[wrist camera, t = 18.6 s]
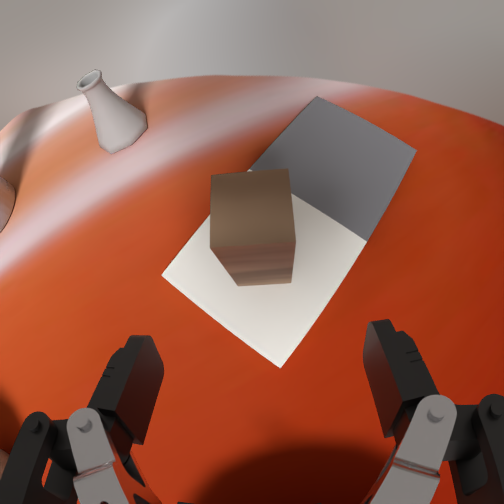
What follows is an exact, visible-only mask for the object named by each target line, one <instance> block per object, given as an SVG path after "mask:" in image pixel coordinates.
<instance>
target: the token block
mask: <svg viewBox="0 0 504 504" xmlns="http://www.w3.org/2000/svg"><path fill="white" fill-rule="evenodd" d="M295 247H296V235H295V225H294V215H293V205H292V196H291V187H290V178H289V170H288V168H287V169H272V170H259V171H248V172H237V173H227V174H217V175H211V199H210V249H211V250H212V252H213V253H214V254H215V256H216V257H217V259H218V260H219V261H220V263H221V264H222V265H223V267H224V268H225V269H226V271H227V272H228V274H229V275H230V276H231V278H232V279H233V280H234V282H235V283H236V284H237V286H254V285H271V284H286V283H291V281H292V273H293V264H294V256H295Z"/></svg>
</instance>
